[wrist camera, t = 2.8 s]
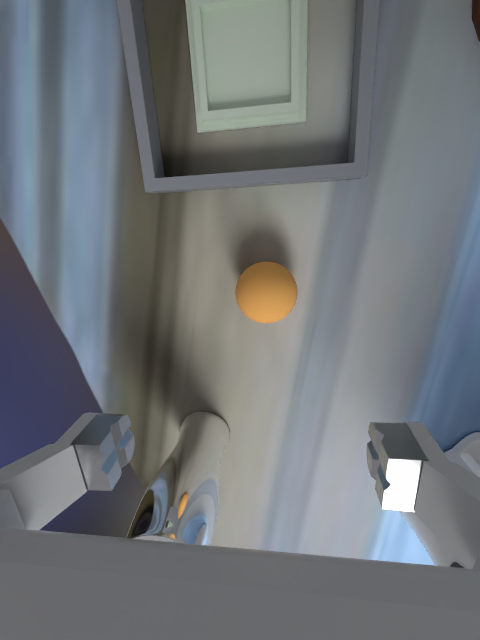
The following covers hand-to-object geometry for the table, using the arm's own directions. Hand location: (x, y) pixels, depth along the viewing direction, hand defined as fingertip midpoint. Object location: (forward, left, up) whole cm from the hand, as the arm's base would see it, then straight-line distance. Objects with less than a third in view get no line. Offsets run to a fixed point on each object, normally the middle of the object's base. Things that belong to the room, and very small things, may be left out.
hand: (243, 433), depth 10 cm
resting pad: (+1, -18, -21) cm, 28 cm away
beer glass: (+8, +18, -21) cm, 29 cm away
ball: (0, 0, -18) cm, 18 cm away
